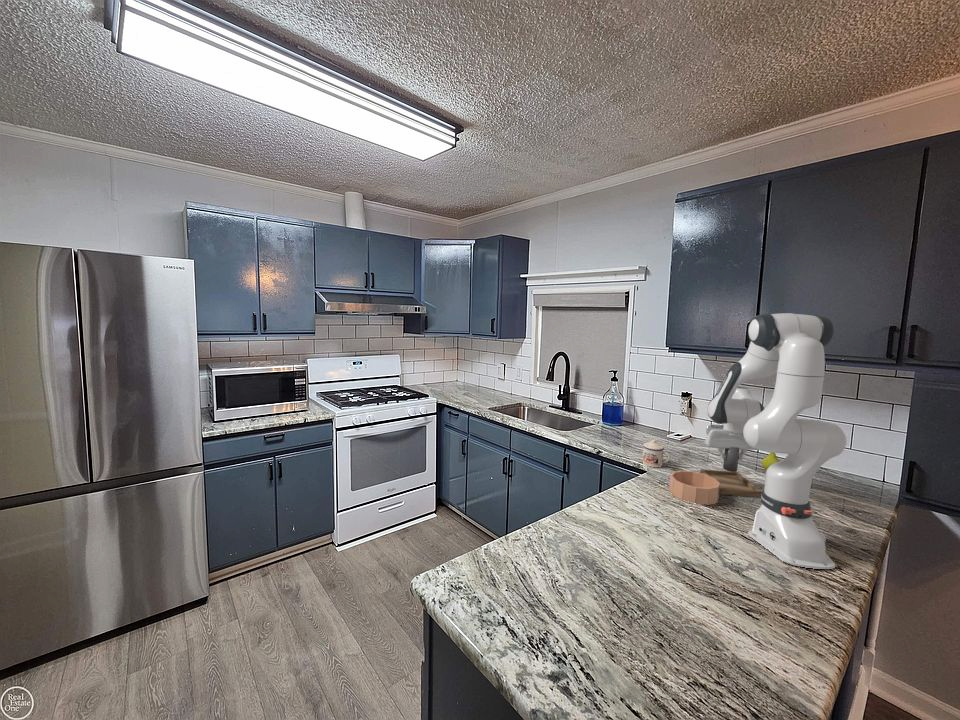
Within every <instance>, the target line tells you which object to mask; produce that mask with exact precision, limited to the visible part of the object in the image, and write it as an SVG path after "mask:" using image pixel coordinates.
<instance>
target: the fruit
mask: <svg viewBox="0 0 960 720" xmlns="http://www.w3.org/2000/svg"><path fill="white" fill-rule="evenodd" d="M780 461H781V460H779V459H778V457H777V453H773V452H769V454H768V456H767V457H764V458H762V460H761V466H762V467H763V469H764V470H765V471H767V469H768V467H769V466H770V465H772V464H774V463H777V462H780Z"/></svg>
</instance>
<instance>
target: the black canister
mask: <svg viewBox="0 0 960 720" xmlns="http://www.w3.org/2000/svg"><path fill="white" fill-rule="evenodd" d="M723 453H725V454H726V459H725V458H723V462H722V463H723V465H722V469H723V470H724V471H732V472H738V468H739V467H738V465H739V459H738V458H739V454H740V449H739V448H737V447H730V448H724V451H723Z"/></svg>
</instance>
